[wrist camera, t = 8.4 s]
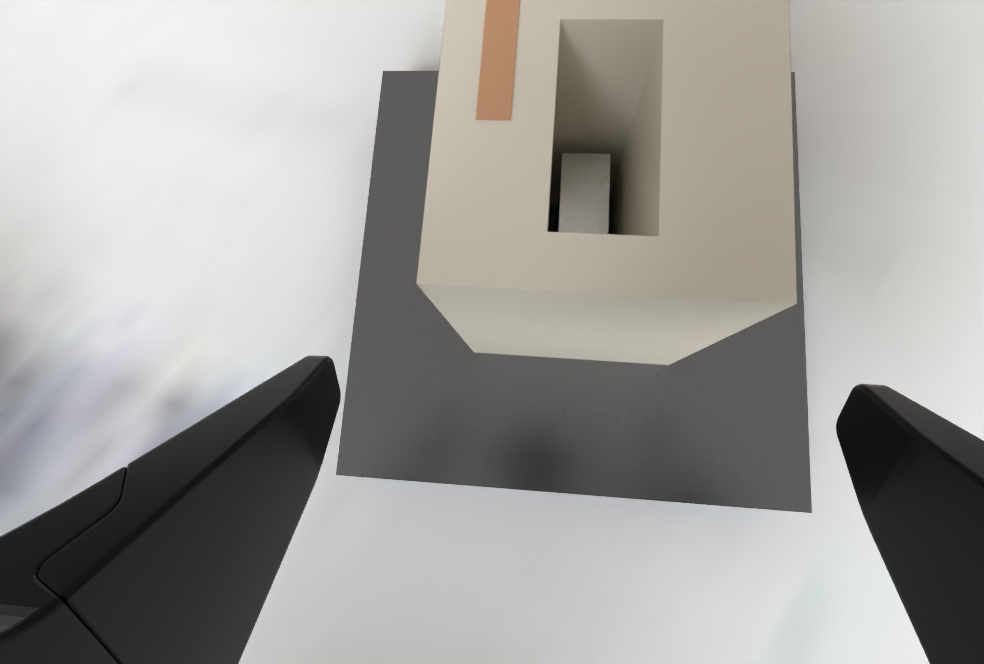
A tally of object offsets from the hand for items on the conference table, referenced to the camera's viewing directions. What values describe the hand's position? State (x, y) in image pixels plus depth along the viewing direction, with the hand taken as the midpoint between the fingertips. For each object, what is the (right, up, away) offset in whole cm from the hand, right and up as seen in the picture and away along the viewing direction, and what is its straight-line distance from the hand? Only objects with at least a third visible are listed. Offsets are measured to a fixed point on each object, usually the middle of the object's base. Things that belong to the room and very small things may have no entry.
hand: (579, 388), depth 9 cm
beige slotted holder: (+1, +3, +8) cm, 8 cm away
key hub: (+1, +3, +9) cm, 10 cm away
